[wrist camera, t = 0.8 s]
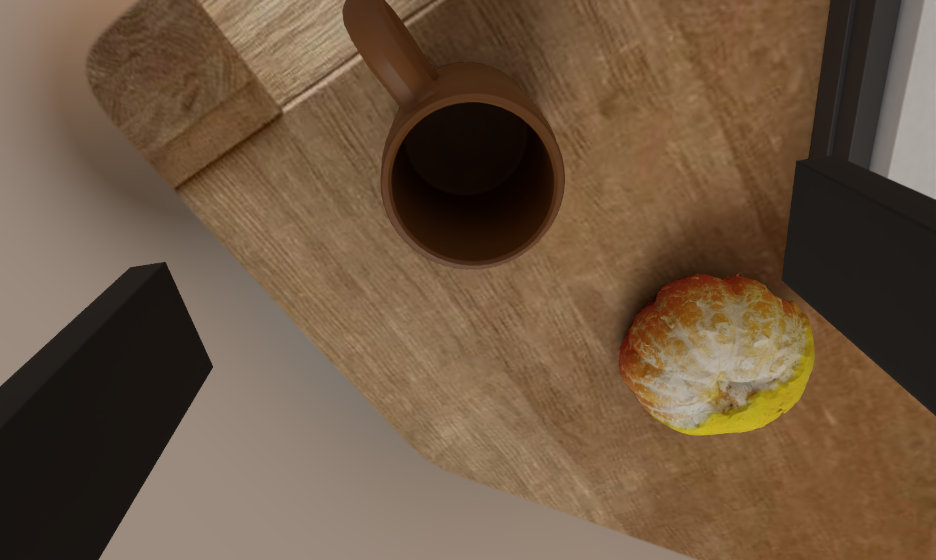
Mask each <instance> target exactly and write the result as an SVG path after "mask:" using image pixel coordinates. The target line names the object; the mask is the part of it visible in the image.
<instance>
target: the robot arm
mask: <svg viewBox="0 0 936 560" xmlns="http://www.w3.org/2000/svg"><path fill="white" fill-rule="evenodd" d="M782 281H783V282H784V283H785V284H787V285H788V286H789V287H790V288H791V289H792V290H793V291H794V292H796V293H797V294H798V295H799V296H800V297H801V298H802V299H804V300H805V301H806V302H807V303H808V304H809V305H810V306H811V307H813V308H814V309H815V310H816V311H817V312H818V313H819V314H821V315H822V316H823V317H824V318H825V319H826V320H827V321H828V322H830V323H831V324H832V325H833V326H834V327H835V328H836V329H838V330H839V331H840V332H841V333H842V334H843V335H844V336H846V337H847V338H848V339H849V340H850V341H851V342H852V343H853V344H855V345H856V346H857V347H858V348H859V349H860V350H861V351H863V352H864V353H865V354H866V355H867V356H868V357H869V358H870V359H872V360H873V361H874V362H875V363H876V364H877V365H878V366H880V367H881V368H882V369H883V370H884V371H885V372H886V373H888V374H889V375H890V376H891V377H892V378H893V379H894V380H895V381H897V382H898V383H899V384H900V385H901V386H902V387H903V388H905V389H906V390H907V391H908V392H909V393H910V394H911V395H912V396H914V397H915V398H916V399H917V400H918V401H919V402H920V403H922V404H923V405H924V406H925V407H926V408H927V409H928V410H929V411H931V412H932V413H933V414H934V415H935V416H936V199H933V198H931V197H929V196H927V195H924V194H922V193H920V192H918V191H915V190H913V189H911V188H909V187H906V186H904V185H902V184H899V183H897V182H895V181H893V180H890V179H888V178H886V177H884V176H881V175H879V174H877V173H875V172H872V171H870V170H868V169H866V168H863V167H861V166H859V165H857V164H854V163H852V162H850V161H847V160H845V159H843V158H841V157H838V156H836V155H831V156H825V157H819V158H813V159H806V160H800V161H796V169H795V177H794V185H793V193H792V201H791V209H790V217H789V225H788V234H787V242H786V250H785V258H784V266H783V274H782ZM212 368H213V366H212V363H211V361H210V359H209V357H208V354H207V352H206V350H205V348H204V346H203V343H202V341H201V339H200V337H199V335H198V332H197V330H196V328H195V326H194V324H193V322H192V319H191V317H190V315H189V313H188V311H187V308H186V306H185V304H184V302H183V299H182V297H181V295H180V293H179V291H178V289H177V286H176V284H175V282H174V280H173V278H172V275H171V273H170V271H169V269H168V267H167V264H166V262H162V263H155V264H150V265H143V266H136V267H130V268H129V269H128V270H127V271H126V272H125V273H124V274H123V275H121V276H120V277H119V278H118V279H117V280H116V281H115V282H114V283H113V284H112V285H111V286H109V287H108V288H107V289H106V290H105V291H104V292H103V293H102V294H101V295H100V296H98V297H97V298H96V299H95V300H94V301H93V302H92V303H91V304H90V305H89V306H88V307H87V308H85V309H84V310H83V311H82V312H81V313H80V314H79V315H78V316H77V317H76V318H75V319H73V320H72V321H71V322H70V323H69V324H68V325H67V326H66V327H65V328H64V329H62V330H61V331H60V332H59V333H58V334H57V335H56V336H55V337H54V338H53V339H52V340H50V342H49V343H47V344H46V345H45V346H44V347H43V348H42V349H41V350H40V351H39V352H37V353H36V354H35V355H34V356H33V357H32V358H31V359H30V360H29V361H28V362H27V363H25V364H24V365H23V366H22V367H21V368H20V369H19V370H18V371H17V372H16V373H14V375H12V376H11V377H10V378H9V379H8V380H7V381H6V382H5V383H4V384H3V385H1V386H0V560H99V558H100V556H101V555H102V553H103V551H104V550H105V548H106V546H107V544H108V543H109V541H110V539H111V538H112V536H113V534H114V533H115V531H116V529H117V528H118V526H119V524H120V523H121V521H122V519H123V517H124V516H125V514H126V512H127V511H128V509H129V508H130V506H131V504H132V502H133V501H134V499H135V497H136V496H137V494H138V492H139V491H140V489H141V487H142V486H143V484H144V482H145V481H146V479H147V477H148V476H149V474H150V472H151V471H152V469H153V467H154V465H155V464H156V462H157V460H158V459H159V457H160V455H161V454H162V452H163V450H164V448H165V447H166V445H167V444H168V442H169V440H170V439H171V437H172V435H173V434H174V432H175V430H176V428H177V427H178V425H179V423H180V422H181V420H182V418H183V417H184V415H185V413H186V412H187V410H188V408H189V407H190V405H191V403H192V402H193V400H194V398H195V397H196V395H197V393H198V391H199V390H200V388H201V386H202V385H203V383H204V381H205V380H206V378H207V376H208V375H209V373H210V371H211V370H212Z"/></svg>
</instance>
